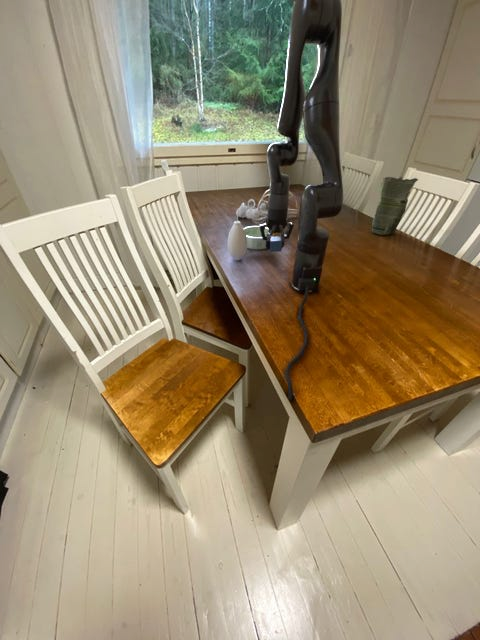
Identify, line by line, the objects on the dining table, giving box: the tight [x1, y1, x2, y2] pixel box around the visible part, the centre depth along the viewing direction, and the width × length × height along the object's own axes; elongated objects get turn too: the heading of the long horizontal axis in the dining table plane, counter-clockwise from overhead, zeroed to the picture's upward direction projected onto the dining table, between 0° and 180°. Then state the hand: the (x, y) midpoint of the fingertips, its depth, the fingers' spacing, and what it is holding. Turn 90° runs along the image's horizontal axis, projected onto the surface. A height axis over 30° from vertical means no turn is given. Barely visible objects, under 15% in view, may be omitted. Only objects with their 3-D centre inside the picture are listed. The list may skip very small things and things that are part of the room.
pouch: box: [370, 176, 419, 236], centre depth 128 cm, size 11×12×25 cm
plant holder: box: [235, 188, 300, 224], centre depth 147 cm, size 28×35×16 cm
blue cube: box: [268, 236, 283, 253], centre depth 111 cm, size 5×5×5 cm
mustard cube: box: [272, 228, 285, 238], centre depth 130 cm, size 5×5×5 cm
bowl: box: [243, 225, 268, 251], centre depth 123 cm, size 14×14×6 cm
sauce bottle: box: [227, 215, 248, 261], centre depth 106 cm, size 8×8×18 cm
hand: (274, 248), depth 112 cm, fingers closed on blue cube, 4 cm apart
